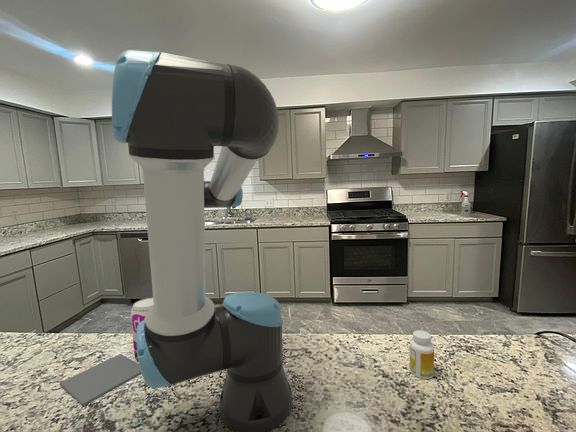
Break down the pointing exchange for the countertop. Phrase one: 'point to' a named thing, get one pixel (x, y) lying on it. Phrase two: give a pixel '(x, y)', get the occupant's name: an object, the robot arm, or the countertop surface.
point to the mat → (101, 379)
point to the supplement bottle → (422, 355)
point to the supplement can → (139, 318)
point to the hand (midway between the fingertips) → (178, 303)
